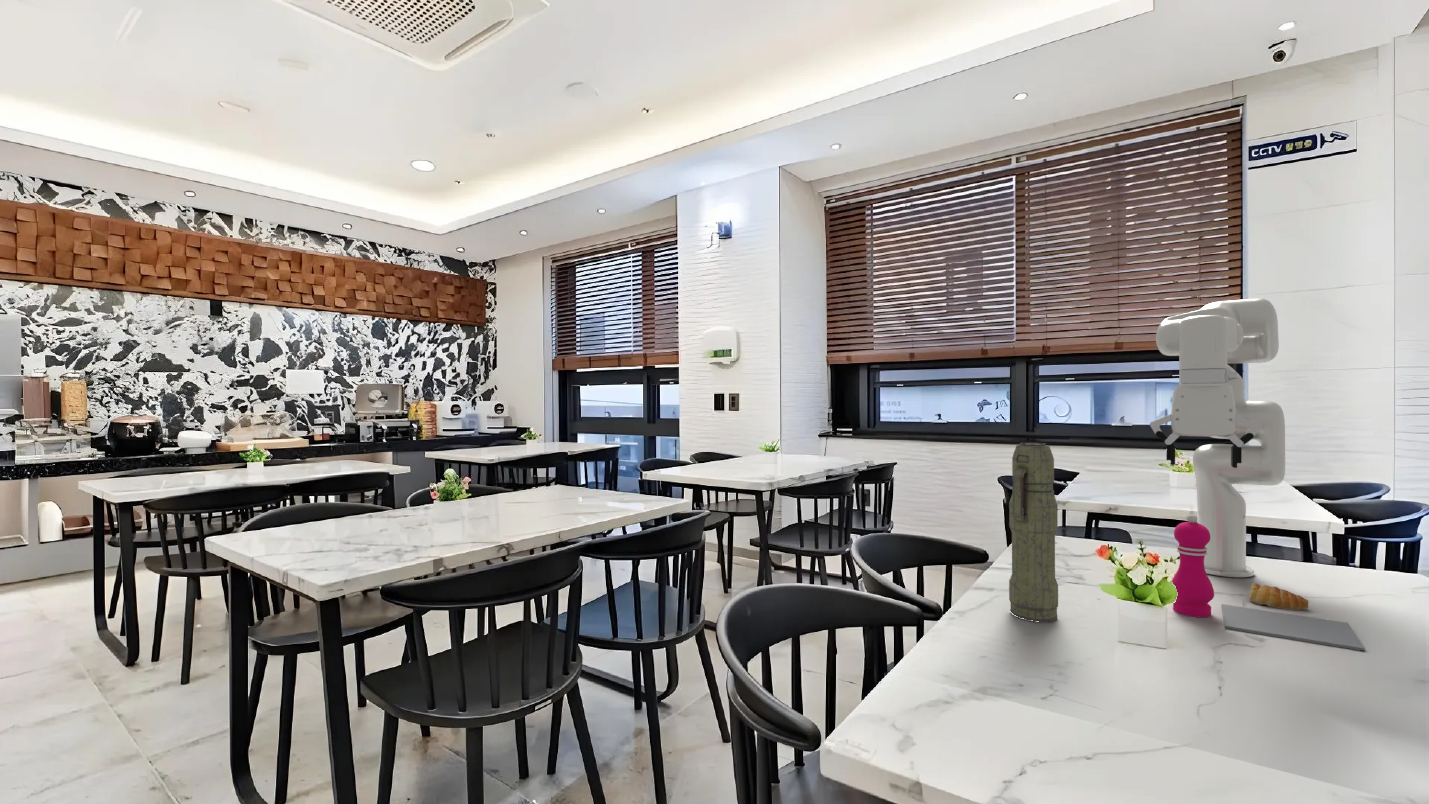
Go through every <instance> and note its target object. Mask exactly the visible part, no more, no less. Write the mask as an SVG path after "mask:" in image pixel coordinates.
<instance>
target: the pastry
mask: <svg viewBox="0 0 1429 804" xmlns="http://www.w3.org/2000/svg"><path fill="white" fill-rule="evenodd" d="M1248 600H1249V601H1250V602H1251V603H1253V604H1257V605H1260V606H1262V605H1267V606H1268V607H1270V608H1275V609H1276V608H1277V609H1278V608H1279V609H1283V610H1290V609H1293V610H1292V611H1298V610H1299V611H1305V610H1307V609H1309V600H1308V599H1306V598H1305V597H1303V596H1302V595H1298V594H1295V593H1293V592H1291V591H1289V590H1286V589H1283V588H1280V587H1277V586H1270V585H1266V584H1263V585H1260V584H1258V583H1254V582H1253V583H1252V584H1251V586H1250V591H1249V596H1248Z"/></svg>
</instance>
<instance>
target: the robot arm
mask: <svg viewBox="0 0 1429 804" xmlns="http://www.w3.org/2000/svg"><path fill="white" fill-rule="evenodd" d="M1155 335H1156V336H1155V342H1156V346H1157V349H1158V351H1159V352H1160V353H1161V354H1162V355H1163V356H1169V357H1173V356H1174V357H1177V356H1178V358H1179V363H1178V365H1179V366H1178V367H1179V372H1178V373H1179V379H1178V380H1179V381H1178V382H1179V385H1178V386H1174V388H1173V389H1174V390H1173V392H1172V393H1173V394H1172V401H1171V411H1170V414H1168V415H1167V414H1166V415H1165V416H1162V417H1160V418H1157V419H1156V420H1153V421H1151V422H1150V423H1149V426H1150V428H1151V429H1152V431H1153V433H1154V435H1155V436H1156V438H1158V439H1160V440H1161V441H1162V442H1163V443H1164V444H1166V455H1165V456H1166V457H1165V458H1166V461H1170V465H1171V466H1174V465H1176V445H1175V441H1177V439H1178V438H1179V437H1180V436H1182V437H1210V438H1214V439H1223V440H1224V439H1226V440H1230V442H1232V444H1229V443H1228V444H1227V443H1209V444H1204V445H1200V446H1199V447H1198V448H1196V449H1195V450H1194V452H1193V455H1192V465H1193V471H1194V476H1195V483H1196V499H1197V500H1196V502H1197V505H1196V508H1197V509H1196V513H1197V514H1196V515H1197V516H1196V517H1197V522H1196V523H1199V524H1202V525H1204V526H1205V527H1206V528H1207V529H1208V530H1209V532H1210V537H1211V538H1210V541H1209V543H1208V544H1207V545H1206V546H1205V547H1206V548H1207V555H1205V557H1204V568H1205V571H1206V574H1207V575H1211V576H1212V575H1213V576H1218V577H1225V578H1227V577H1228V578H1249V577H1250V578H1251V577H1253V576H1254V575H1255V570H1254V569H1253V568H1252V567H1249V566H1247V558H1246V557H1247V553H1246V552H1247V551H1246V550H1247V548H1246V547H1247V505H1246V500H1245V497H1243V496H1242V494H1241V493H1240V492H1239V491H1238V490H1237V489H1236V488H1235V487H1234V486H1233V485H1249V486H1250V485H1252V486H1271V487H1272V486H1277V485H1279V484H1281V483H1282V482H1283V481H1284V479H1285V474H1286V424H1285V423H1286V422H1285V414H1284V411H1283V409H1282V407H1281V405H1279V403H1277V402H1274V401H1269V400H1246V399H1245V381H1244V379H1243V377H1242V376H1241V375H1240V374H1239V373H1238V372H1237V371H1236V370H1235V369H1234V368H1233V367H1232V366H1230V365H1229V364H1255V363H1257V364H1258V363H1259V364H1263V363H1267V362H1270V361H1272V360H1274V359H1275V358H1276V356H1277V354H1278V352H1279V346H1280V344H1279V343H1280V342H1279V340H1280V339H1279V322H1278V316H1277V310H1276V308H1275V306H1274V304H1273V303H1272V302H1271V301H1269V300H1267V299H1265V298H1261V297H1260V298H1259V297H1257V298H1256V297H1255V298H1247V299H1246V298H1245V299H1244V298H1243V299H1236V300H1220V301H1214V302H1211V303H1208V304H1205V305H1204V306H1203V307H1201V308H1200V309H1198V310H1194V311H1190V312H1185V313H1181V314H1176V315H1172V316H1168V317H1167V318H1164V319H1163V320H1162V321H1161V322H1160V324H1159V325H1158V327H1157V330H1156V334H1155ZM1167 423H1170V429H1171V434H1169V435H1166V433H1164V432H1163V431H1162V429H1161V428H1160V426H1161V425H1164V424H1167ZM1251 440H1253V441H1258V442H1259V443H1260V445H1252V444H1251V445H1250V444H1248V445H1247V443H1249V442H1251Z"/></svg>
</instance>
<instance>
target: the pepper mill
mask: <svg viewBox="0 0 1429 804" xmlns="http://www.w3.org/2000/svg"><path fill="white" fill-rule="evenodd" d="M1173 530H1174V531H1173V535H1174V536H1173V537H1174V539H1175V540H1176V541H1177V543H1178V544H1177V545H1176V547H1177V549H1176V552H1178V554H1179V565H1178V569H1177V571H1176V573H1175V574H1174V576H1173V577H1172V579H1171V582H1173V584H1174V585H1175V586H1176V589H1177V592H1178V596H1177V599H1176V598H1175V599H1176V602H1175V603H1173V602H1172V609H1173V611H1175V612H1176V613H1178V614H1181V615H1185V616H1190V617H1196V618H1207V617H1210V616H1211V615H1212V606H1211V605H1210V604H1209V603H1210V602H1211V601H1212V600H1213V599H1214V597H1215V589H1214V586H1213V584H1212V582H1211V580H1210V578H1209V576H1208V574H1207V573H1206V571H1205V568H1204V557H1205V555H1207V548H1206V547H1205V546H1206V545H1207V544H1208V543H1209V541H1210V538H1211V537H1210V532H1209V530H1208V529H1207V528H1206V527H1205V526H1204V525H1202V524H1199V523H1197V516H1196V515H1194V514H1188V515H1187V516H1186V521H1185V522H1181V523H1178V524H1177V525H1176V526H1175V528H1174V529H1173Z"/></svg>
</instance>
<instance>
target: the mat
mask: <svg viewBox="0 0 1429 804" xmlns="http://www.w3.org/2000/svg"><path fill="white" fill-rule="evenodd" d="M1221 610H1222V611H1221V613H1222V619H1223V624H1224V625H1223V626H1224V629H1226V630H1233V631H1238V632H1246V633H1251V634H1258V635H1264V636H1270V637H1275V638H1283V639H1289V640H1293V641H1294V640H1295V641H1300V642H1305V643H1312V644H1318V645H1324V646H1329V647H1337V648H1341V647H1342V649H1348V648H1349V650H1354V651H1360V650H1363V651H1362V652H1366V648H1365V646H1364V644H1363V643H1362V641H1361V640H1360V638H1359V637H1358V636H1357V635H1356V633H1355V631H1354V630H1353V628H1352V627H1351V626H1350V624H1349V623H1348V622H1344V621H1339V620H1332V619H1326V618H1319V617H1311V616H1304V615H1299V614H1293V613H1292V614H1291V613H1284V612H1277V611H1271V610H1263V609H1258V608H1251V607H1250V608H1249V607H1244V606H1243V607H1242V606H1237V605H1230V604H1224V603H1221Z"/></svg>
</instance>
